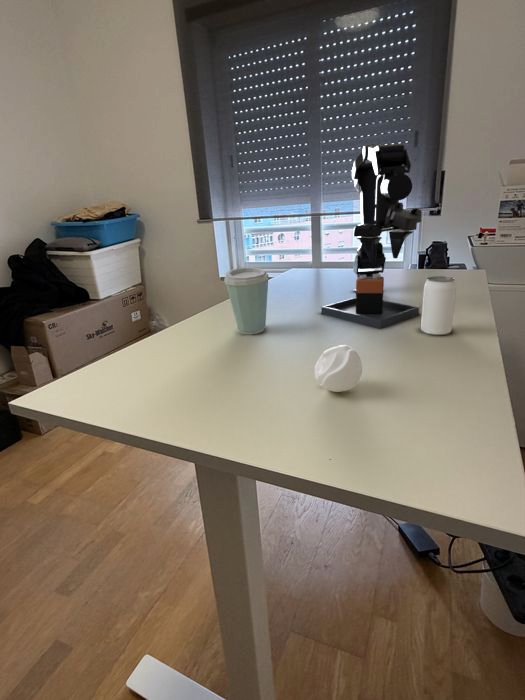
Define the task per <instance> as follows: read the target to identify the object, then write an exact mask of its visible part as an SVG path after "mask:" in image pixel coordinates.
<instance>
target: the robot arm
mask: <svg viewBox="0 0 525 700" xmlns="http://www.w3.org/2000/svg"><path fill="white" fill-rule="evenodd" d="M405 147H406V146H405V144H403V143H394V144H383V145H382V144H380V143H375V144H374V143H373V144H366V145H364V146H363V147H362V152H360V154H359V155H358V156H357V157H356V158H355V159H354V161H353V166H352V170H351V179H352V180H353V184H354V188H355V190H356V191H357V192H358V194H359V200H360V201H359V203H360V224H356V225H355V227H354V228H353V237H355V238H356V239H357V240H359V241H360V244H359V246H358V247H357V250H356V255H355V258H354V262H353V266H352V268H353V273H354V274H355V275H356V279H357V278H358V277H360V275H366V277H374V276H373V274H381V273H382V274H383V273H384V271H385V264H386V260H387V257H386V255H385V253H384V250H383V249H384V245H383V243H382V242H380V241H381V240H382V239H383V238H382V236H381V235H382V233H383V232H388V235H389V242H390V249H391V255H392V258H393V259H398V258H399V255H400V252H401V250H402V247H403V245H404V243H405V240H406V238H408V236H410V235H411V234H413V233H414V231H415V230H417V227H418V226H417V225H418V223H421V222H422V209H420V208H417V207H416V208H412V209H411V210H405V209H404V204H403V202H400V201H403V200H405V199H407V198H408V197H409V196H410V194H411V192H412V191H413V182H412V179H411V177H410V176H409V175H407V174H410V171H411V167H412V164H411V161H410V156H409V154H408V150H407V148H405ZM366 161H367V162H366ZM353 292H355V293H356V288H355V289H353Z"/></svg>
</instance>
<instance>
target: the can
mask: <svg viewBox="0 0 525 700" xmlns="http://www.w3.org/2000/svg"><path fill="white" fill-rule="evenodd" d="M455 280H456V278H455V277H452V276H445V275H440V276H439V275H435V276H429V277H427V278H426V281H425V283H424V285H423V295H422V305H421V306H422V308H421V318H420V319H421V322H420V330H421V332H422V333H424V334H426V335H431V336H446V335H449V334H450V333H451V332H452V329H453V321H454V312H455V304H456V295H457V294H456V293H457V285H456V282H455Z"/></svg>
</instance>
